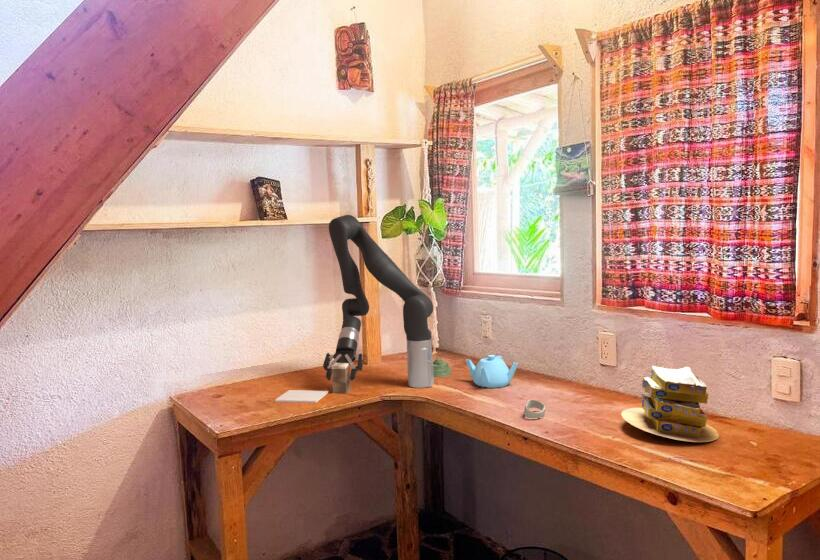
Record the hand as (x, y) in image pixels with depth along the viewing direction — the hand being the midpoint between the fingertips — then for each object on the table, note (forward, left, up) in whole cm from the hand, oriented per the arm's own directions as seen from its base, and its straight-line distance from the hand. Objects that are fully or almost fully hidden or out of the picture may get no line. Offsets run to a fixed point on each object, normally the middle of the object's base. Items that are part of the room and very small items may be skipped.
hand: (339, 379), depth 221 cm
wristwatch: (-69, +21, -5) cm, 72 cm away
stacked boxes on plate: (-105, +31, -5) cm, 109 cm away
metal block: (0, -1, -5) cm, 5 cm away
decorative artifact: (-31, -30, -5) cm, 43 cm away
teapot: (-53, -15, -5) cm, 55 cm away
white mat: (+12, +7, -5) cm, 14 cm away
